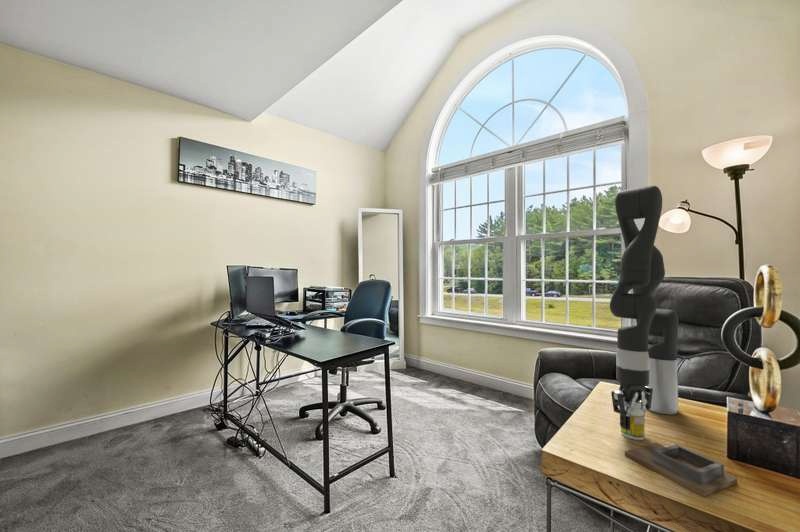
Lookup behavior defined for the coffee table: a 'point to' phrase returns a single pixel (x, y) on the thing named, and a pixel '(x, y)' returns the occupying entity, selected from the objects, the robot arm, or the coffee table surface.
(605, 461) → the coffee table surface
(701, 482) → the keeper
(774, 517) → the coffee table surface
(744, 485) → the coffee table surface
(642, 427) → the supplement bottle
